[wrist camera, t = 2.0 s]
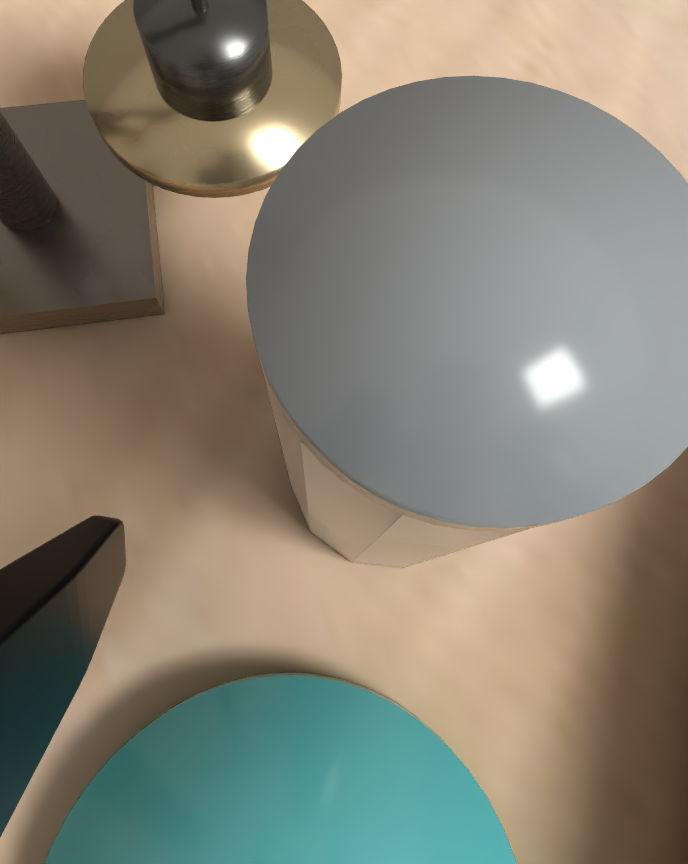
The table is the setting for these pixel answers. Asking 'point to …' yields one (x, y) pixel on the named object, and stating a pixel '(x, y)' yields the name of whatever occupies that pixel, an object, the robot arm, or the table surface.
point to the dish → (283, 785)
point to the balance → (151, 147)
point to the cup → (470, 316)
